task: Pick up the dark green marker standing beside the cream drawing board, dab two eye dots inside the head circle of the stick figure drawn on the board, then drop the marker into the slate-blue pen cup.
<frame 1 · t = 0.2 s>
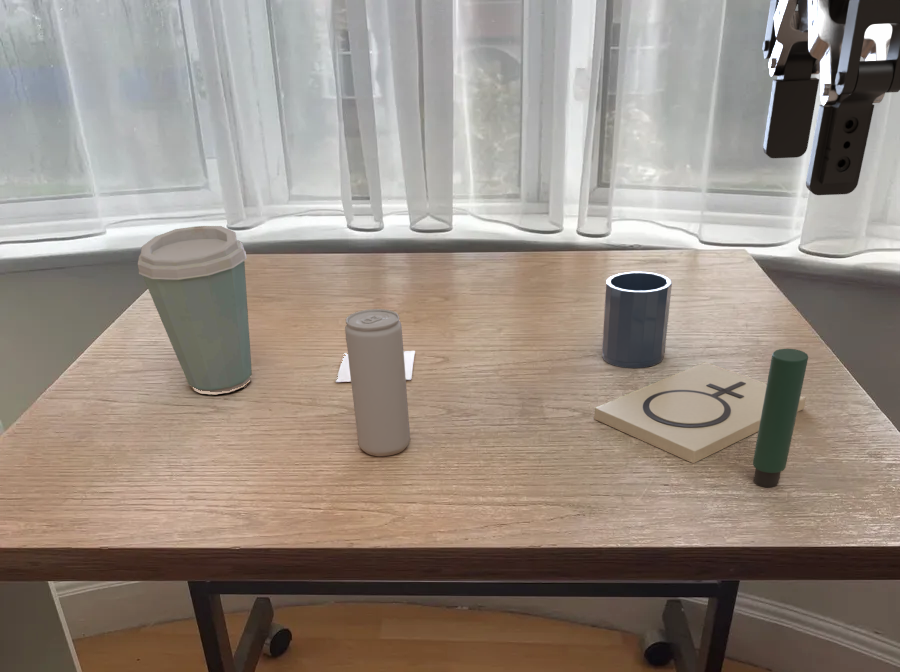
hand: (804, 173, 46), 27 cm above the table, tool pointing down, fingers open, 8 cm apart
white piece: (376, 367, 98), on the table
pen cup: (632, 356, 97), on the table
disposable coffee cup: (219, 386, 96), on the table
beverage can: (384, 448, 83), on the table
marker: (765, 481, 75), on the table
drawing board: (698, 414, 85), on the table
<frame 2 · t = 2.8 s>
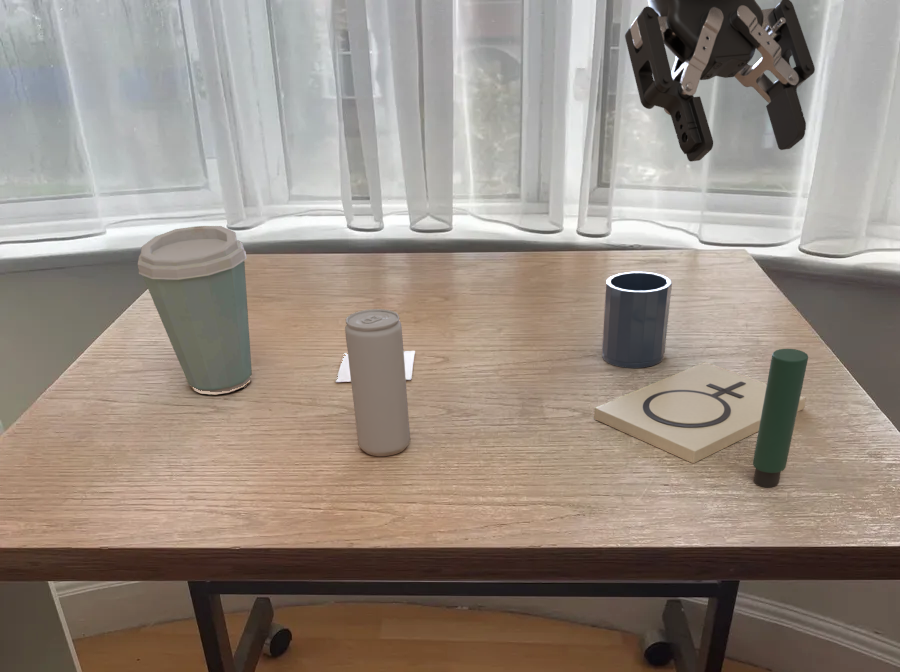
hand: (748, 149, 66), 24 cm above the table, tool tilted 40°, fingers open, 8 cm apart
nothing on the table moved.
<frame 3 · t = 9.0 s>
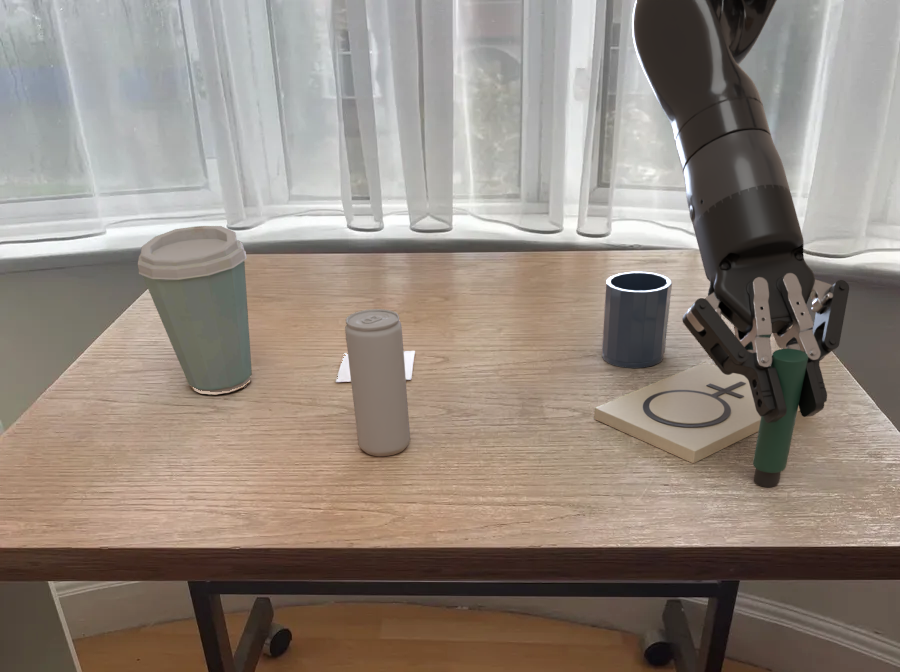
hand: (795, 415, 69), 7 cm above the table, tool tilted 45°, fingers closed on marker, 2 cm apart
marker: (766, 481, 75), on the table, touching gripper
everything else where it was.
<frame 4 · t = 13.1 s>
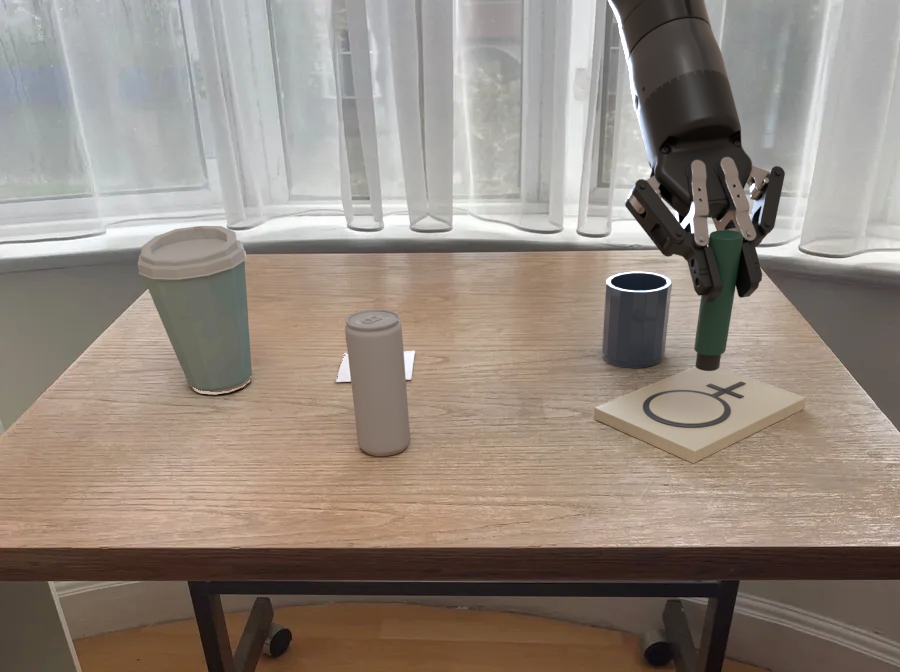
hand: (731, 293, 72), 14 cm above the table, tool tilted 45°, fingers closed on marker, 2 cm apart
marker: (707, 366, 78), point 7 cm above the table, touching gripper
everything else where it was.
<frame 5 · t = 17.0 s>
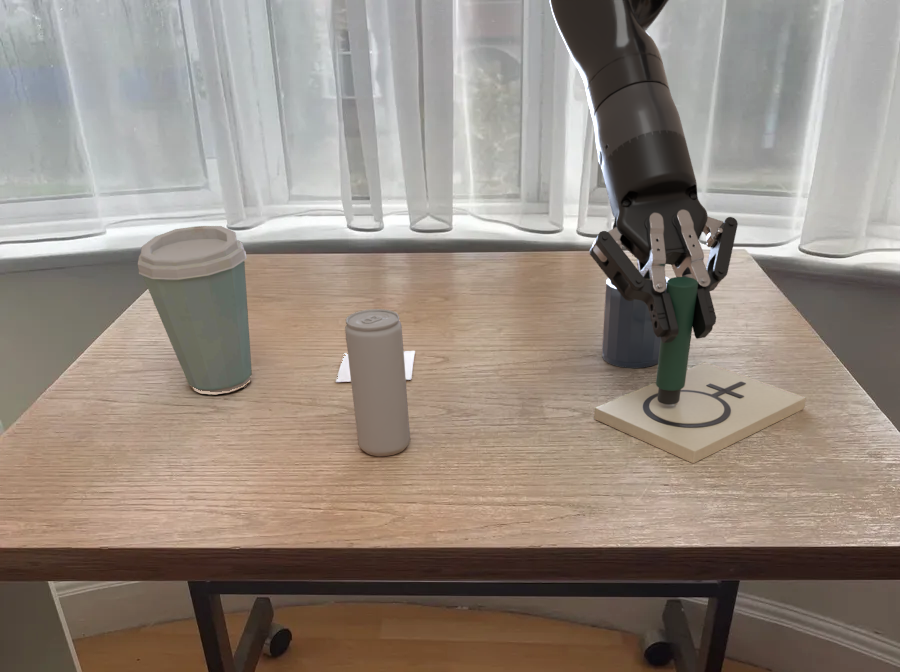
hand: (688, 335, 78), 9 cm above the table, tool tilted 45°, fingers closed on marker, 2 cm apart
marker: (668, 400, 84), point 2 cm above the table, touching gripper
everything else where it was.
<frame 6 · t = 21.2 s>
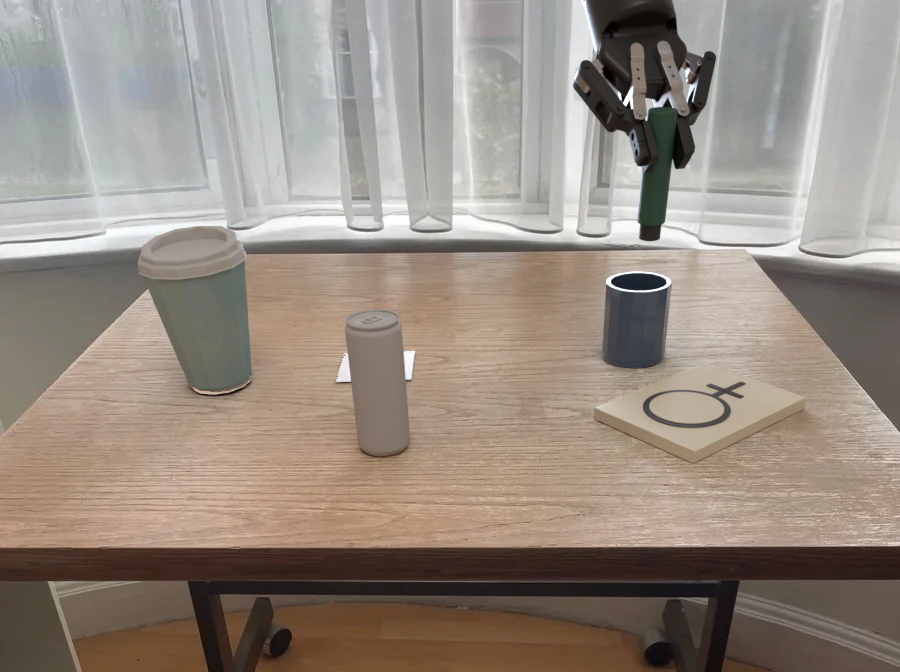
hand: (667, 164, 80), 20 cm above the table, tool tilted 45°, fingers closed on marker, 2 cm apart
marker: (649, 238, 86), point 13 cm above the table, touching gripper
everything else where it was.
when the fingers open (9 cm above the table, at t = 25.1 s): marker drops 1 cm, resting on pen cup.
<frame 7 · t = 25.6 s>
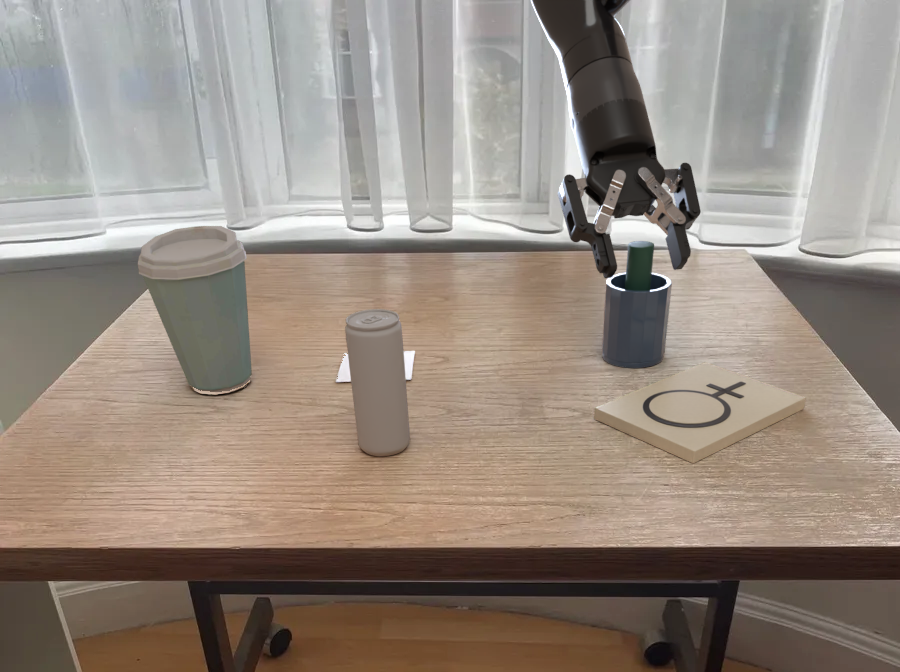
hand: (646, 269, 90), 10 cm above the table, tool tilted 45°, fingers open, 7 cm apart
marker: (632, 350, 97), point 1 cm above the table, touching pen cup
everything else where it was.
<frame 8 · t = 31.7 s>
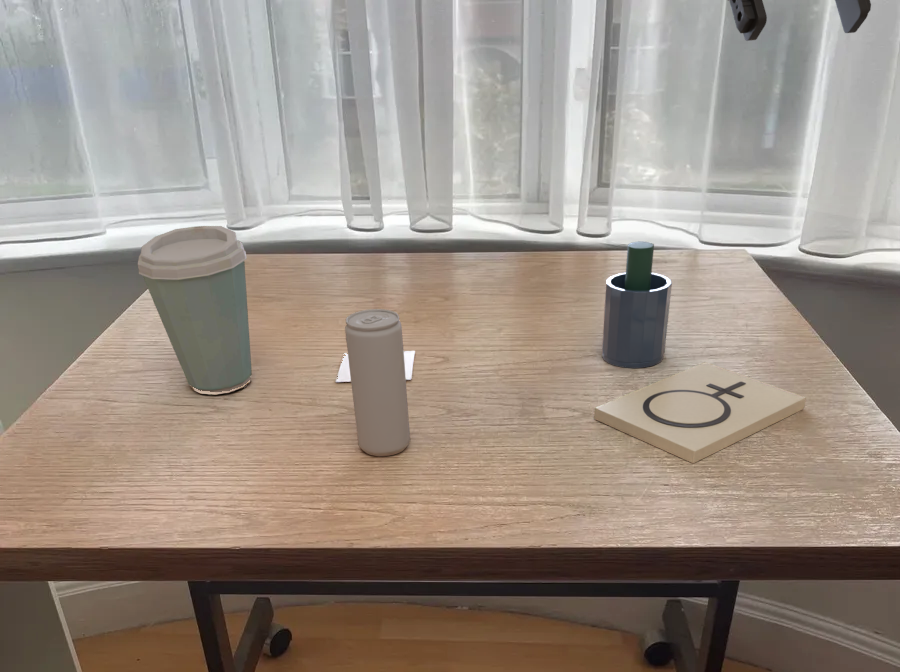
hand: (807, 28, 69), 31 cm above the table, tool tilted 45°, fingers open, 8 cm apart
nothing on the table moved.
at the end: marker 0.2 cm off-centre in the pen cup, point 0.6 cm above the pen cup's base; the gripper is holding nothing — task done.
